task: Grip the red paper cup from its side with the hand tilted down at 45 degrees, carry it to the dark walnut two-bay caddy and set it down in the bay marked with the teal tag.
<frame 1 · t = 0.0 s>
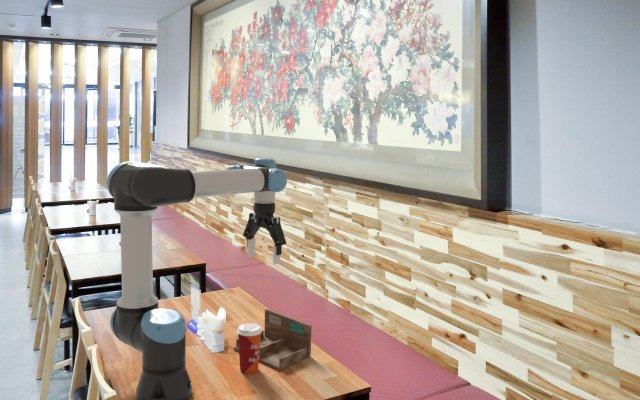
hand: (263, 260, 190), 28 cm above the table, tool pointing down, fingers open, 13 cm apart
paper cup: (249, 370, 166), on the table
rack: (271, 353, 178), on the table
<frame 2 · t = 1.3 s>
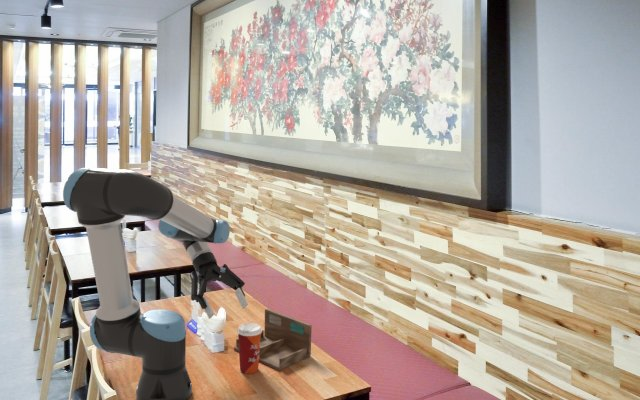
hand: (229, 311, 171), 16 cm above the table, tool tilted 45°, fingers open, 13 cm apart
nothing on the table moved.
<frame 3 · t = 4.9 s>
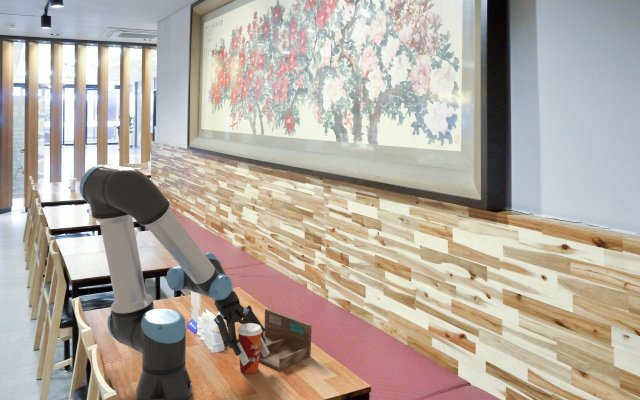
hand: (256, 359, 163), 5 cm above the table, tool tilted 45°, fingers closed on paper cup, 8 cm apart
paper cup: (249, 370, 166), on the table, touching gripper
when the fingers open (7 cm above the table, at t = 9.1 s): paper cup drops 1 cm, resting on rack.
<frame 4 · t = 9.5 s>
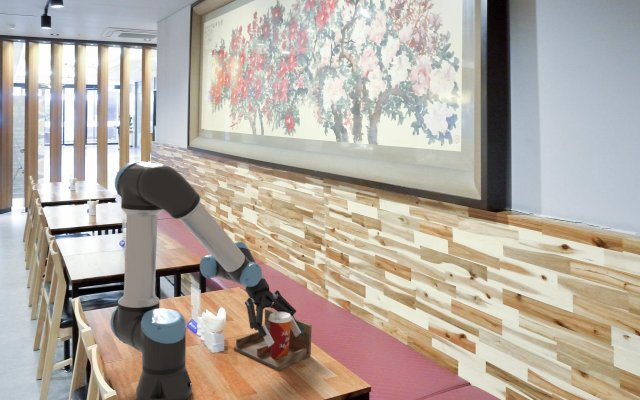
hand: (285, 339, 171), 8 cm above the table, tool tilted 45°, fingers open, 11 cm apart
paper cup: (279, 356, 174), point 1 cm above the table, touching rack
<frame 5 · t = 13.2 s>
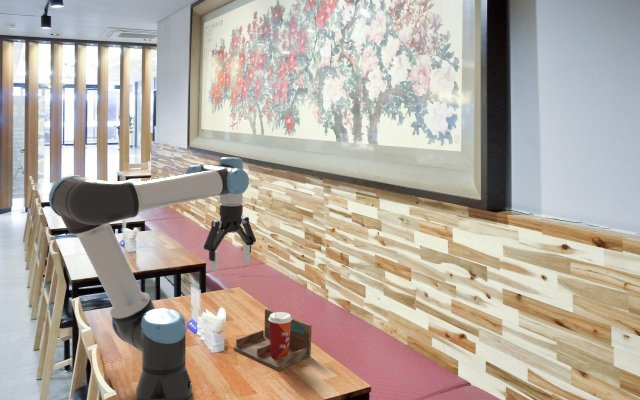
hand: (230, 266, 177), 29 cm above the table, tool pointing down, fingers open, 13 cm apart
nothing on the table moved.
at the end: paper cup inside the target area on the rack (0.8 cm from its centre), point 0.8 cm above the rack's base; paper cup tilted 0°; the gripper is holding nothing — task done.
